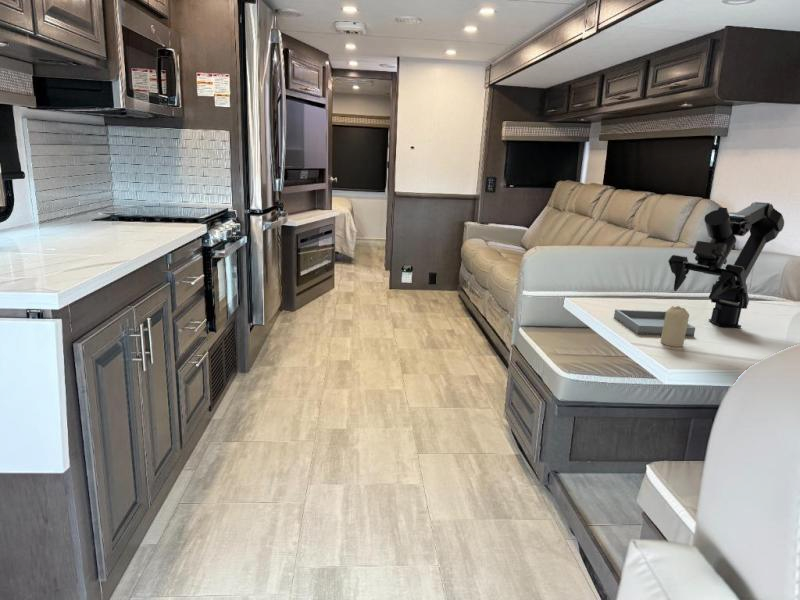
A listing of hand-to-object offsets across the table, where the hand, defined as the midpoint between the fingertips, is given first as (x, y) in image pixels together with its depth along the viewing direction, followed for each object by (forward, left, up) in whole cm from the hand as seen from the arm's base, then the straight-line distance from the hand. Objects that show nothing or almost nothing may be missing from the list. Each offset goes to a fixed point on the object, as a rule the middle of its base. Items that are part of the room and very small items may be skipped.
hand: (691, 293), depth 147 cm
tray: (+3, -11, -13) cm, 17 cm away
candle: (+5, +4, -13) cm, 15 cm away
